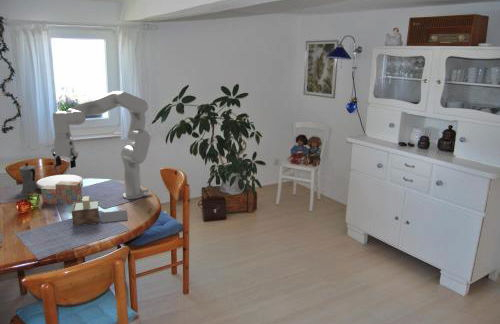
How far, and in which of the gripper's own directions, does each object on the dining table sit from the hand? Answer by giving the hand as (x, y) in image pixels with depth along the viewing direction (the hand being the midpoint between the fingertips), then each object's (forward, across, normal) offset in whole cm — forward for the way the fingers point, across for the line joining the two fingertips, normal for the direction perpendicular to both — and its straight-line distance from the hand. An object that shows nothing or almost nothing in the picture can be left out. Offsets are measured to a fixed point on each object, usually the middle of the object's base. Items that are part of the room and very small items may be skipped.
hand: (66, 166), depth 222 cm
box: (+26, -16, +6) cm, 31 cm away
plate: (+27, +38, -33) cm, 57 cm away
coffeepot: (+26, +49, -19) cm, 59 cm away
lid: (+19, -16, +6) cm, 26 cm away
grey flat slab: (+26, -27, -3) cm, 38 cm away
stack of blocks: (+27, +15, -10) cm, 32 cm away
